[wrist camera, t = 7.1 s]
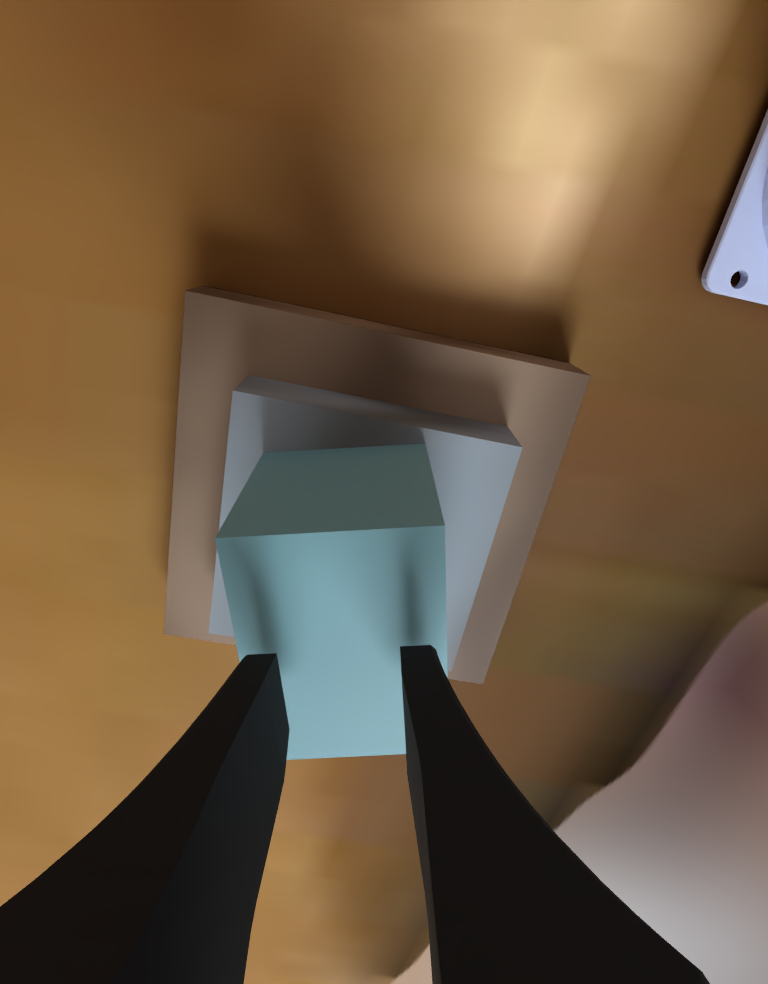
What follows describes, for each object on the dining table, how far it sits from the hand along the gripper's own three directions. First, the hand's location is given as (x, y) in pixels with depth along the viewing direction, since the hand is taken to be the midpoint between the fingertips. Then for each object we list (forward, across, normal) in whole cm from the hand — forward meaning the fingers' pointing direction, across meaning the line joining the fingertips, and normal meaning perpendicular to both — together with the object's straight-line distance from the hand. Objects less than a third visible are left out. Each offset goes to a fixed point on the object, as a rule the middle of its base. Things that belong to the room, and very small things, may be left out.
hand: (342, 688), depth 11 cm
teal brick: (+6, 0, 0) cm, 6 cm away
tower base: (+10, 0, 0) cm, 10 cm away
